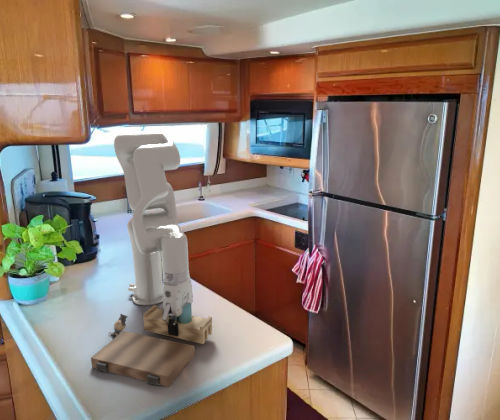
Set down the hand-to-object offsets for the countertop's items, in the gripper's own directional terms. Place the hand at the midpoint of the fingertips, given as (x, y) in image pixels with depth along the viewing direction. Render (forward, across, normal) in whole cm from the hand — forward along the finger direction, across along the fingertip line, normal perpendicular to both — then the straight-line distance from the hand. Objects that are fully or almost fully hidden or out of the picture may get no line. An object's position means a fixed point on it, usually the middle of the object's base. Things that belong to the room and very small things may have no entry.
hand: (179, 328), depth 123 cm
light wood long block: (+1, 0, 0) cm, 1 cm away
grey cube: (-3, 0, +2) cm, 4 cm away
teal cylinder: (-3, 0, -2) cm, 4 cm away
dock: (+3, -14, +3) cm, 14 cm away
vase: (+4, -4, +19) cm, 20 cm away
